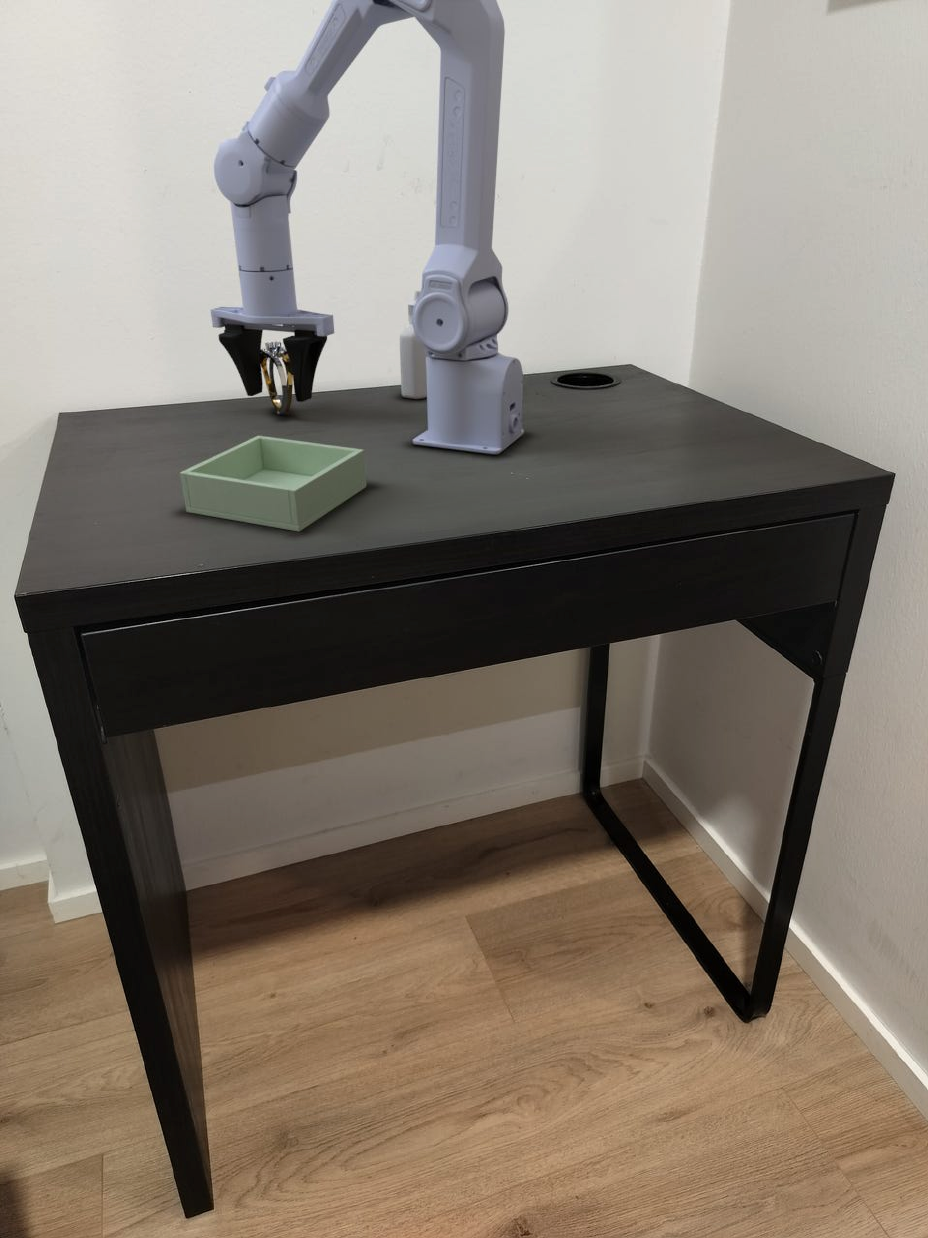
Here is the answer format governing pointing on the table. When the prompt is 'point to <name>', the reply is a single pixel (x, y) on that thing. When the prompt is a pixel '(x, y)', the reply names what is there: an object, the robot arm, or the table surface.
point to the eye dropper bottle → (412, 360)
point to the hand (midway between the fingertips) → (279, 396)
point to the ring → (287, 386)
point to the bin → (274, 482)
